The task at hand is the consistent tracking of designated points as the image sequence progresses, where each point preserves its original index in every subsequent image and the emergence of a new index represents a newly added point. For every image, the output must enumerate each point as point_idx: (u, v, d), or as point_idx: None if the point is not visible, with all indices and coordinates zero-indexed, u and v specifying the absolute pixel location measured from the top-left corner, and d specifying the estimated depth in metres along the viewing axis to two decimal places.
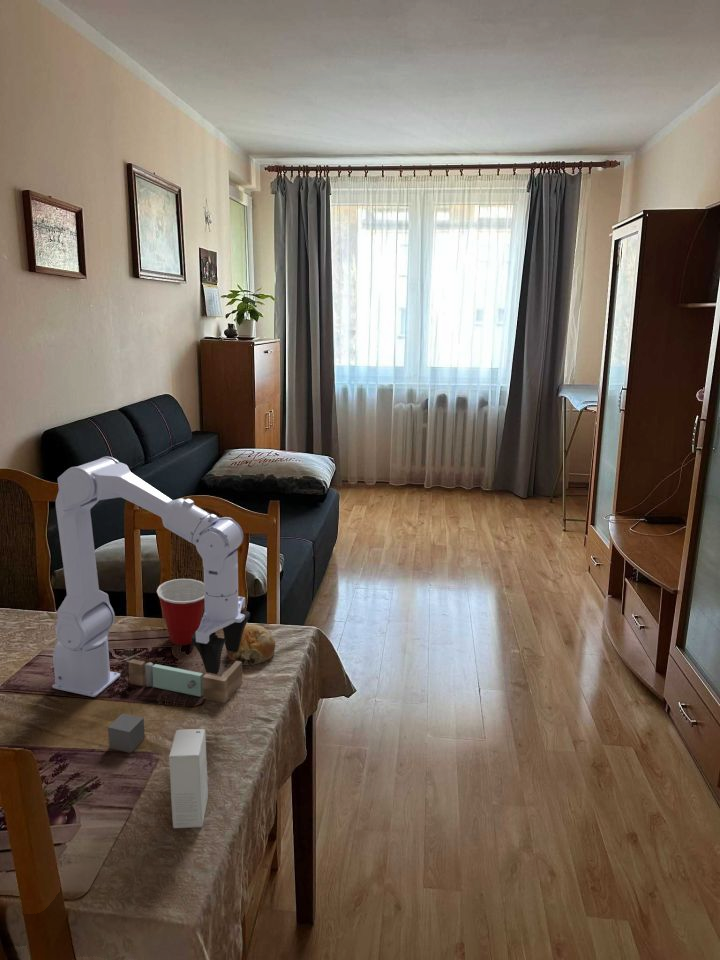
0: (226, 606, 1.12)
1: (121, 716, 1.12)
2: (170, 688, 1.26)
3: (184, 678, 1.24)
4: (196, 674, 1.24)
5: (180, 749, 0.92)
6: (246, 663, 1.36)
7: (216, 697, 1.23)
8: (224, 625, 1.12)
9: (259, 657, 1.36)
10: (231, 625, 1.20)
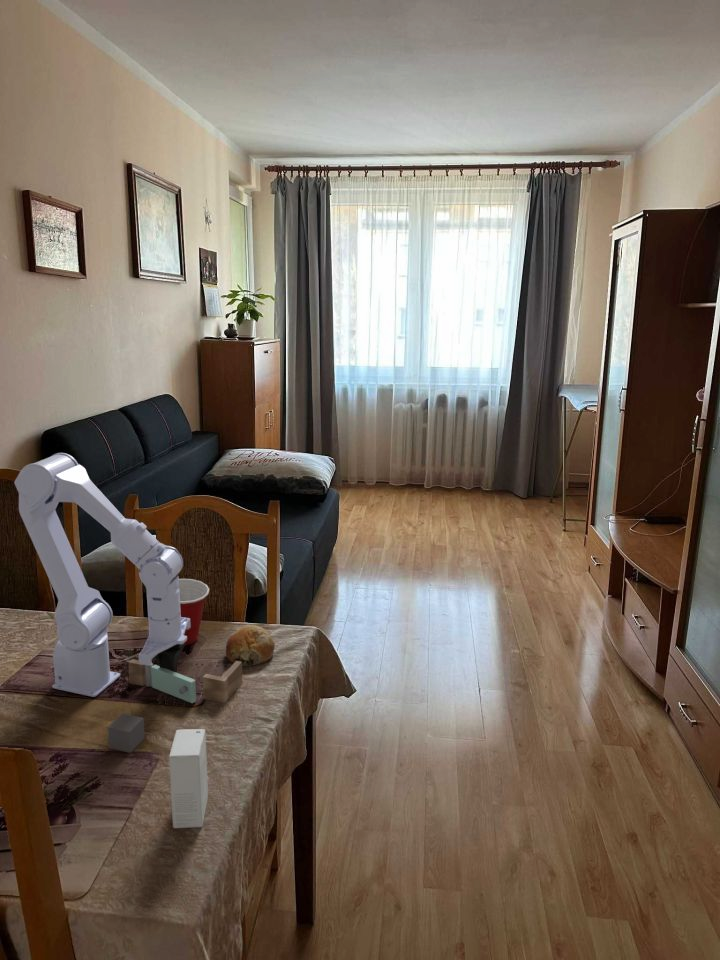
0: (168, 630, 1.20)
1: (121, 716, 1.12)
2: (166, 691, 1.25)
3: (178, 682, 1.23)
4: (189, 680, 1.22)
5: (180, 749, 0.92)
6: (245, 664, 1.35)
7: (216, 697, 1.23)
8: (166, 647, 1.20)
9: (258, 658, 1.36)
10: (166, 655, 1.24)
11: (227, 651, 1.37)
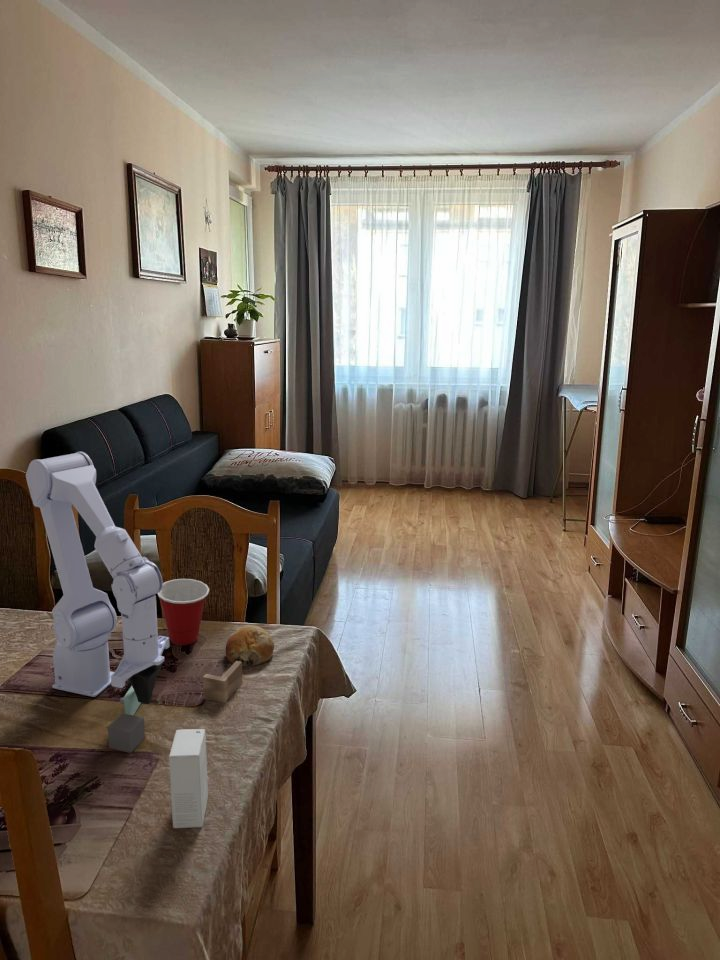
0: (143, 650, 1.13)
1: (121, 716, 1.12)
2: None
3: None
4: (127, 694, 1.17)
5: (180, 749, 0.92)
6: (245, 664, 1.35)
7: (216, 697, 1.23)
8: (141, 668, 1.13)
9: (258, 659, 1.35)
10: None
11: (227, 651, 1.37)
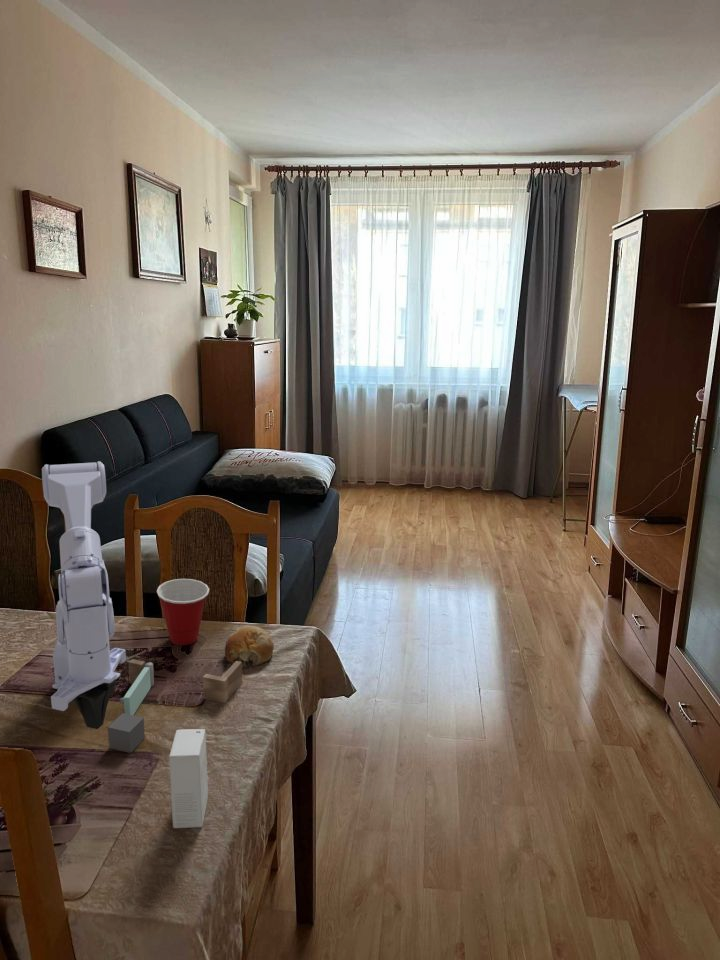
0: (91, 665, 0.97)
1: (121, 716, 1.12)
2: None
3: None
4: (127, 694, 1.17)
5: (180, 749, 0.92)
6: (244, 665, 1.35)
7: (216, 697, 1.23)
8: (89, 687, 0.96)
9: (257, 659, 1.35)
10: None
11: (226, 652, 1.37)
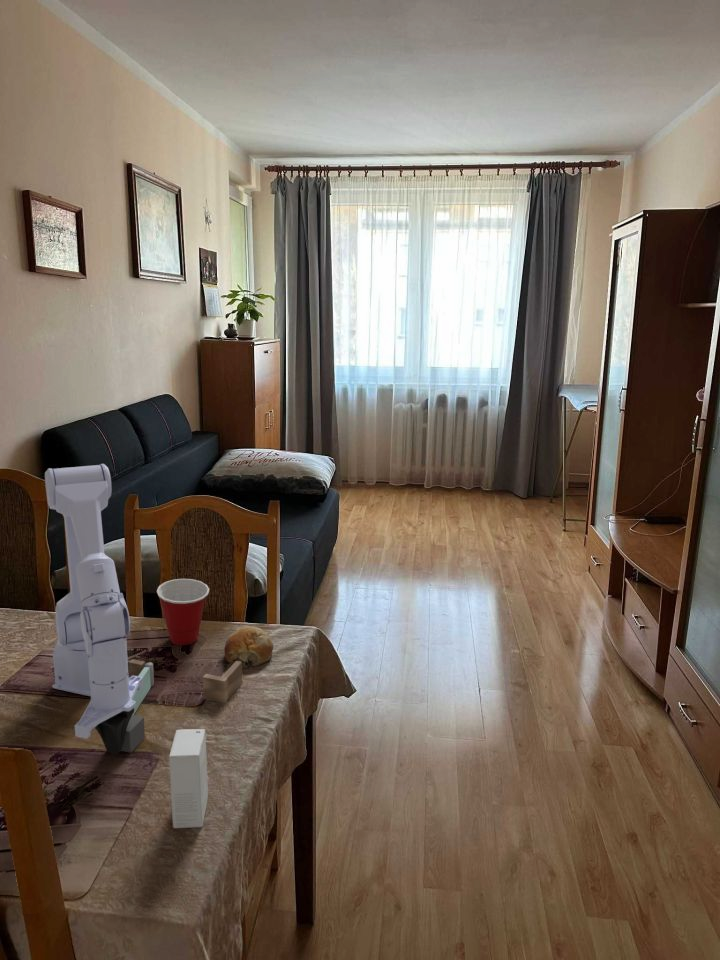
0: (112, 695, 1.02)
1: None
2: None
3: None
4: None
5: (180, 749, 0.92)
6: (244, 665, 1.35)
7: (216, 697, 1.23)
8: (110, 715, 1.02)
9: (257, 659, 1.35)
10: None
11: (226, 652, 1.36)
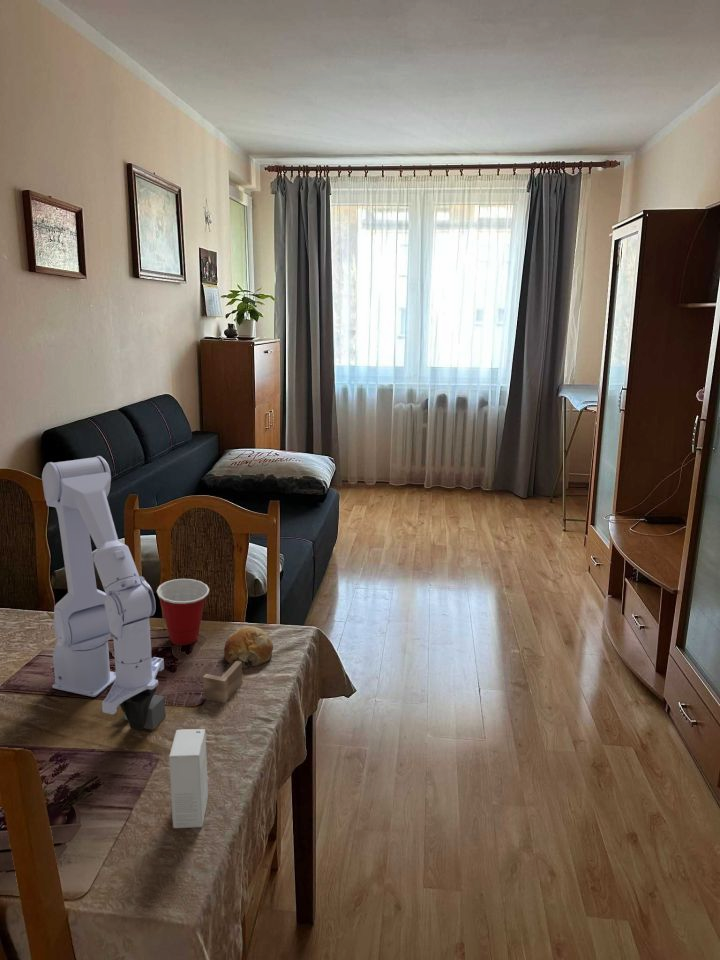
0: (136, 674, 1.08)
1: None
2: None
3: None
4: None
5: (180, 749, 0.92)
6: (244, 665, 1.35)
7: (216, 697, 1.23)
8: (134, 693, 1.08)
9: (257, 660, 1.35)
10: None
11: (225, 652, 1.36)
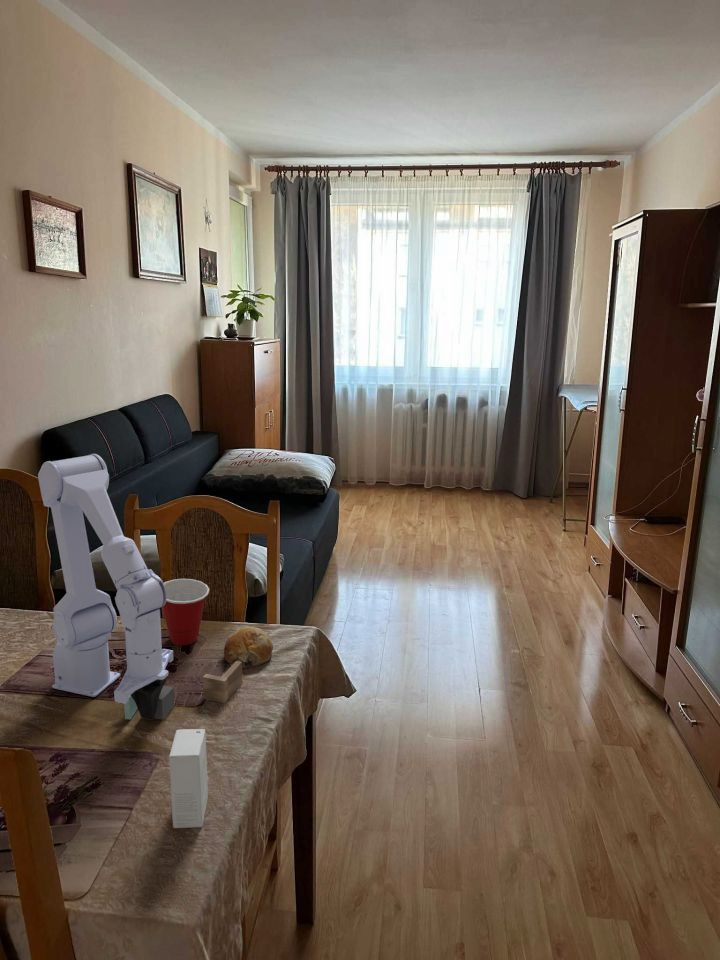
0: (147, 664, 1.11)
1: None
2: None
3: None
4: None
5: (180, 749, 0.92)
6: (243, 665, 1.35)
7: (216, 697, 1.23)
8: (145, 683, 1.11)
9: (257, 660, 1.35)
10: None
11: (225, 653, 1.36)
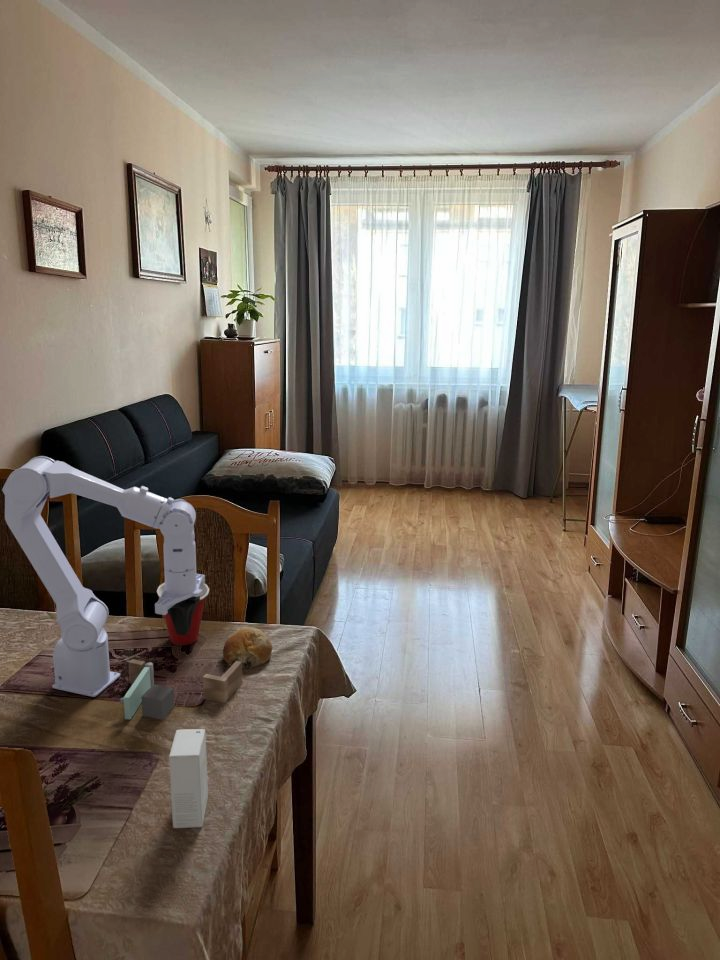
0: (184, 581, 1.22)
1: (152, 687, 1.20)
2: None
3: None
4: (127, 694, 1.17)
5: (180, 749, 0.92)
6: (242, 666, 1.35)
7: (216, 697, 1.23)
8: (182, 598, 1.22)
9: (256, 661, 1.35)
10: None
11: (224, 653, 1.36)
